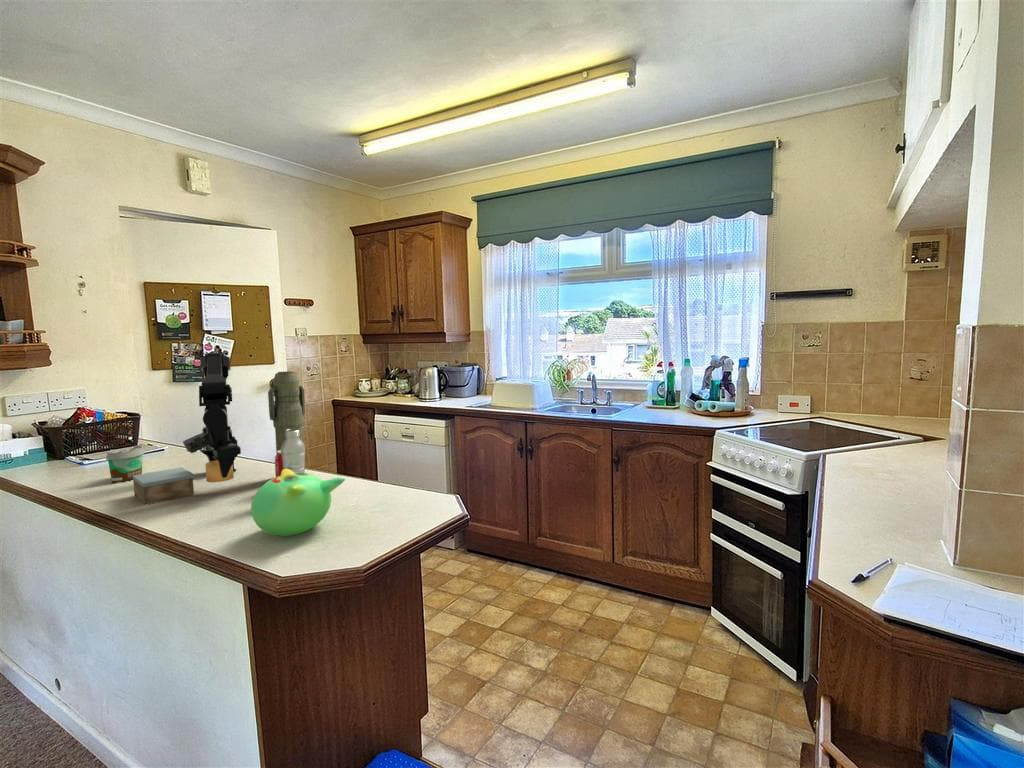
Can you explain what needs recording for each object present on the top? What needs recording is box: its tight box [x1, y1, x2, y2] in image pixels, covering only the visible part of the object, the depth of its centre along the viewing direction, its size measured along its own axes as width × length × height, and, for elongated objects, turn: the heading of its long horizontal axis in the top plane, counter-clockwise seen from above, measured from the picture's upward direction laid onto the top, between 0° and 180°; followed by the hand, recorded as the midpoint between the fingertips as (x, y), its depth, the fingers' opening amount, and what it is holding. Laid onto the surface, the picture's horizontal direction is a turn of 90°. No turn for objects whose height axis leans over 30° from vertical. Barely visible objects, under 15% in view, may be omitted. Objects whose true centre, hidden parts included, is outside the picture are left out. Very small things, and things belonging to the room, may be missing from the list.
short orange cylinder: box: [204, 460, 234, 483], centre depth 149 cm, size 7×7×5 cm
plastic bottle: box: [281, 429, 306, 473], centre depth 142 cm, size 6×7×20 cm
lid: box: [133, 467, 196, 487], centre depth 147 cm, size 12×12×1 cm
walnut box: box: [132, 478, 195, 506], centre depth 147 cm, size 12×12×5 cm
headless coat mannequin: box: [267, 371, 306, 473], centre depth 164 cm, size 9×12×35 cm
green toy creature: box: [250, 469, 346, 537], centre depth 119 cm, size 18×17×15 cm
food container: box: [105, 445, 146, 484], centre depth 165 cm, size 12×6×10 cm, turn 179°
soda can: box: [274, 450, 284, 477], centre depth 152 cm, size 7×7×12 cm
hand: (220, 475), depth 149 cm, fingers closed on short orange cylinder, 7 cm apart
